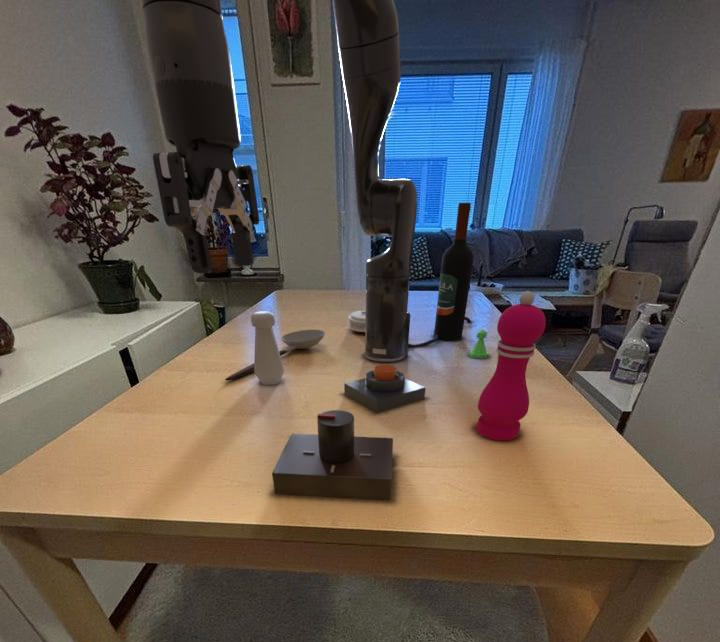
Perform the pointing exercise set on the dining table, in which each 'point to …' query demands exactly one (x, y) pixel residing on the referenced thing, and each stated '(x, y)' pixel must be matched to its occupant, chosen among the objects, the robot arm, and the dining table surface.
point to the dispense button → (385, 372)
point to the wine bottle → (454, 282)
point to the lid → (357, 321)
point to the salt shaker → (266, 349)
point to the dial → (336, 436)
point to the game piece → (479, 346)
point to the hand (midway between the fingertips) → (225, 268)
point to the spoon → (294, 341)
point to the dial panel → (335, 469)
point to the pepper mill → (511, 371)
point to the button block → (384, 392)
